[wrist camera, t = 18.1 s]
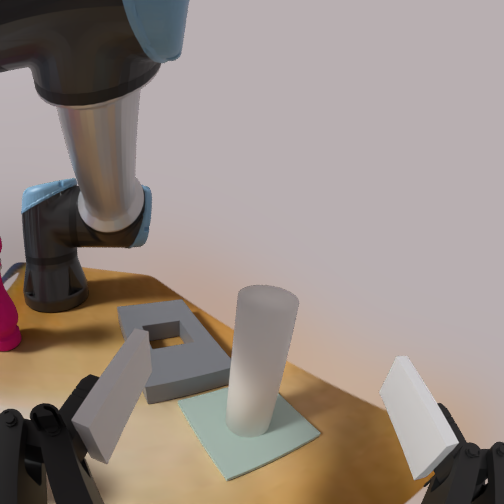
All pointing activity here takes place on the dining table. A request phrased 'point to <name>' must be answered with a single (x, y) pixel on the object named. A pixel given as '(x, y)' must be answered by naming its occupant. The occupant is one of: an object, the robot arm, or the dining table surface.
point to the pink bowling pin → (8, 319)
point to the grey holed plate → (176, 350)
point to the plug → (258, 356)
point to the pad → (241, 448)
